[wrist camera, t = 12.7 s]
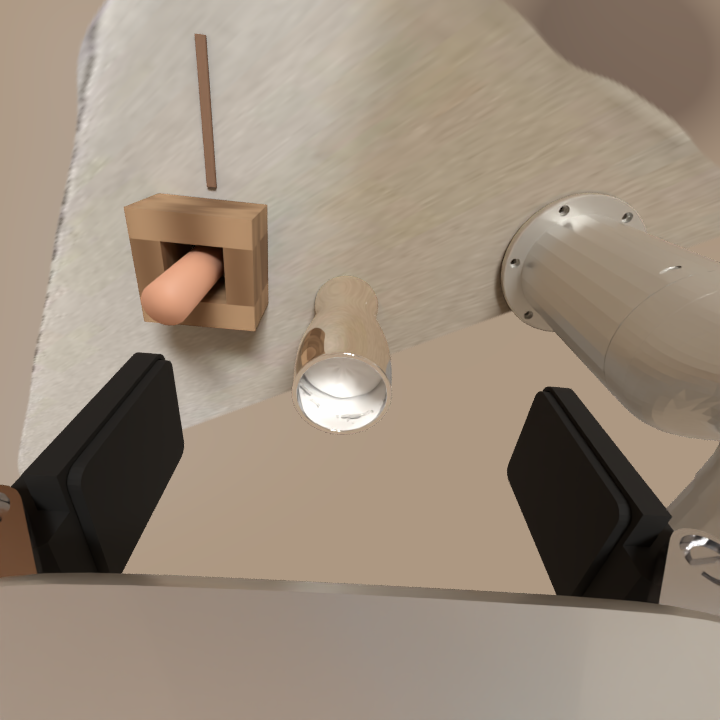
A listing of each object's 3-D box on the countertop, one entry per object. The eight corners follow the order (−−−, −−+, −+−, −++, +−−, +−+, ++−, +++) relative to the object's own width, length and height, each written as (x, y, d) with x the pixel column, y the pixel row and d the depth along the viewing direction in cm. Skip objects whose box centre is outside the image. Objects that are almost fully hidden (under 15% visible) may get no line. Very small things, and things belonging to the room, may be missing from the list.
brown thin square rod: (206, 35, 29) (204, 34, 29) (216, 187, 34) (215, 187, 34) (196, 34, 29) (194, 33, 29) (208, 185, 34) (206, 186, 34)
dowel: (234, 236, 36) (186, 284, 26) (236, 269, 38) (191, 327, 27) (200, 232, 36) (137, 280, 26) (203, 265, 38) (145, 323, 27)
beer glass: (354, 349, 42) (354, 452, 29) (296, 312, 40) (268, 406, 27) (397, 297, 39) (417, 386, 26) (337, 255, 37) (327, 329, 24)
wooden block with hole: (267, 204, 35) (251, 220, 30) (268, 303, 39) (255, 331, 34) (158, 193, 34) (123, 206, 29) (172, 294, 39) (144, 321, 34)
